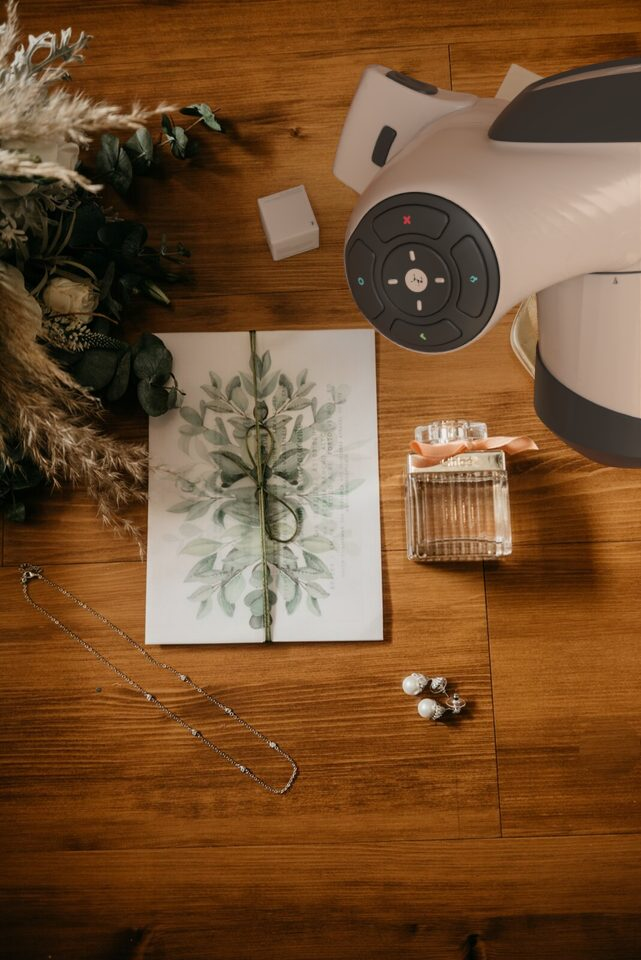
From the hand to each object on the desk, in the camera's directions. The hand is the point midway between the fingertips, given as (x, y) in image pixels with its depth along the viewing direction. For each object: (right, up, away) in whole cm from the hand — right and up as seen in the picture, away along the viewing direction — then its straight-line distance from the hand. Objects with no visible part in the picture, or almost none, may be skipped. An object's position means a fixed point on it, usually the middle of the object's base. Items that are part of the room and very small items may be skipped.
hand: (507, 138), depth 52 cm
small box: (-17, +4, +32) cm, 37 cm away
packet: (0, -1, +5) cm, 5 cm away
